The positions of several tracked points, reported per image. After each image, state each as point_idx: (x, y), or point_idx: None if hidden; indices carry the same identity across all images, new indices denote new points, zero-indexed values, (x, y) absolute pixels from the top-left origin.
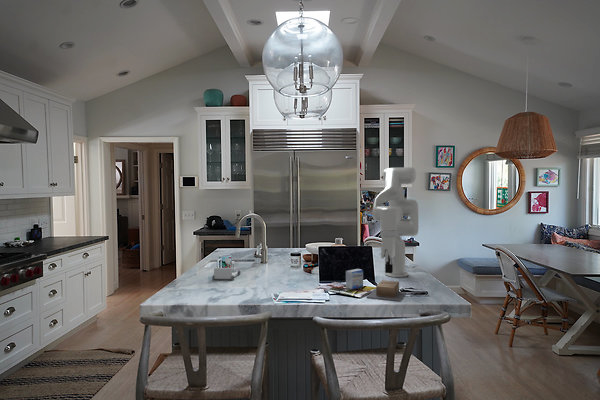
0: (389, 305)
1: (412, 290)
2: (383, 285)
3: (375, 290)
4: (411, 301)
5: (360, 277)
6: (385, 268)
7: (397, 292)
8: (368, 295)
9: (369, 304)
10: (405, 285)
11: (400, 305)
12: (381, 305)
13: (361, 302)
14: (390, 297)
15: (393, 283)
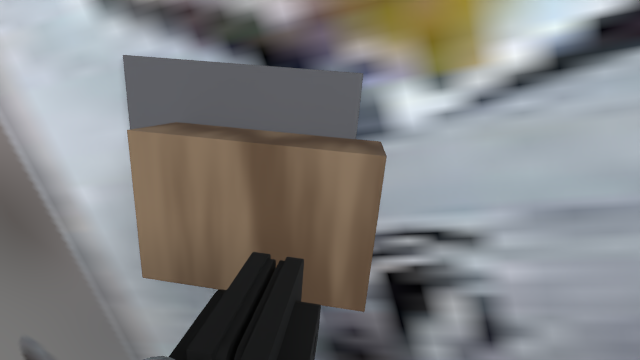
0: (59, 220)
1: (426, 338)
2: (180, 192)
3: (324, 90)
4: (181, 325)
5: None
6: (229, 291)
7: None
8: (163, 61)
9: (14, 104)
10: (575, 299)
11: (88, 274)
12: (35, 178)
13: (22, 41)
14: None
15: None
